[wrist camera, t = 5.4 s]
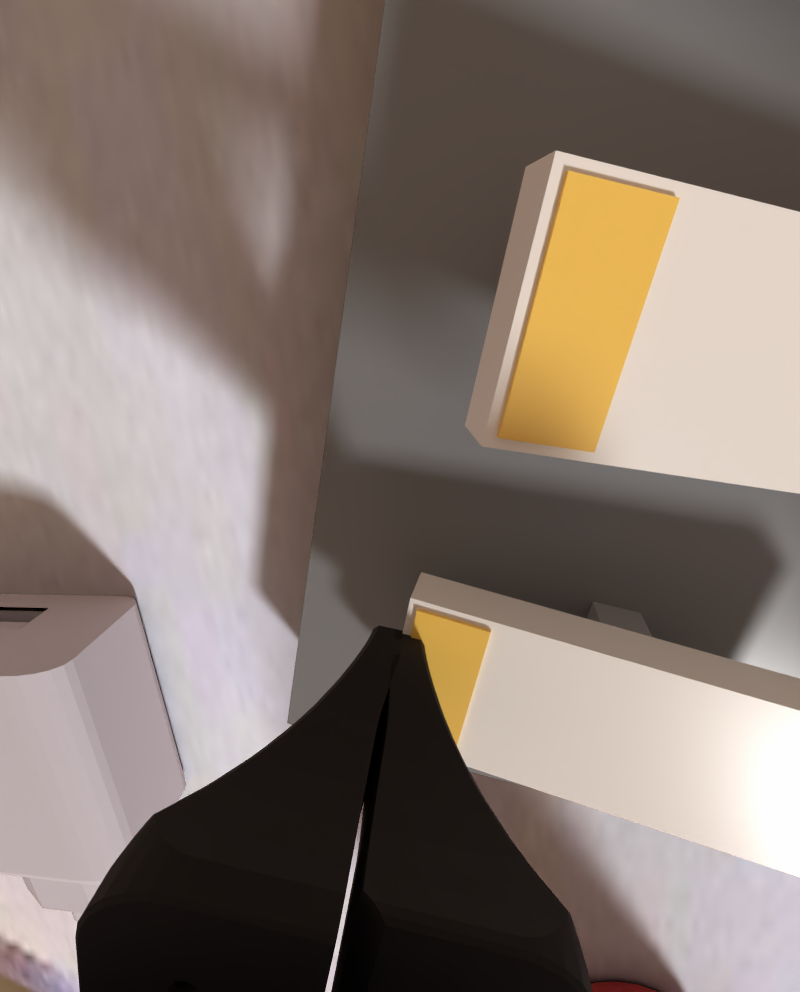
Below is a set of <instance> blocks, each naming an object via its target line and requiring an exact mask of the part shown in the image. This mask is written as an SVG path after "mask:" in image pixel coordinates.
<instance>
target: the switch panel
mask: <svg viewBox="0 0 800 992" xmlns="http://www.w3.org/2000/svg"><path fill="white" fill-rule="evenodd" d="M554 151H560V152H564V153H568V154H572V155H576V156H580V157H584V158H588V159H592V160H596V161H600V162H604V163H608V164H612V165H616V166H620V167H624V168H628V169H632V170H636V171H640V172H644V173H647V174H651V175H655V176H659V177H663V178H667V179H671V180H675V181H679V182H683V183H687V184H691V185H695V186H699V187H703V188H707V189H711V190H715V191H719V192H723V193H727V194H731V195H735V196H739V197H743V198H747V199H751V200H754V201H758V202H762V203H766V204H770V205H774V206H778V207H782V208H786V209H790V210H794V211H798V212H800V0H385V4H384V11H383V19H382V26H381V33H380V41H379V48H378V56H377V63H376V70H375V78H374V85H373V93H372V100H371V107H370V115H369V122H368V130H367V137H366V144H365V152H364V159H363V167H362V174H361V181H360V189H359V196H358V204H357V211H356V218H355V226H354V233H353V241H352V248H351V256H350V263H349V270H348V278H347V285H346V293H345V300H344V307H343V315H342V322H341V330H340V337H339V344H338V352H337V359H336V367H335V374H334V381H333V389H332V396H331V404H330V411H329V418H328V426H327V433H326V441H325V448H324V455H323V463H322V470H321V478H320V485H319V492H318V500H317V507H316V515H315V522H314V529H313V537H312V544H311V552H310V559H309V567H308V574H307V581H306V589H305V596H304V604H303V611H302V618H301V626H300V633H299V641H298V648H297V655H296V663H295V670H294V678H293V685H292V692H291V700H290V707H289V715H288V722H287V723H289V724H294V723H295V722H296V721H297V720H299V719H300V718H301V717H302V716H303V715H304V714H305V713H306V712H307V711H308V710H309V709H310V708H311V707H313V706H314V705H315V704H316V703H317V702H318V701H319V699H320V698H321V697H322V696H323V695H324V694H325V693H326V692H327V691H328V690H329V689H330V688H331V687H332V686H333V685H334V684H335V682H336V681H337V680H338V679H339V678H340V677H341V675H342V674H343V673H344V672H345V671H346V669H347V668H348V667H349V666H350V664H351V663H352V662H353V661H354V659H355V658H356V657H357V655H358V654H359V652H360V651H361V650H362V648H363V647H364V645H365V644H366V642H367V640H368V639H369V637H370V635H371V633H372V631H373V628H375V627H377V626H379V625H380V626H384V627H389V628H393V629H398V630H402V631H403V629H404V624H405V620H406V615H407V611H408V606H409V602H410V598H411V595H412V593H413V590H414V588H415V586H416V583H417V581H418V578H419V576H420V574H421V572H423V573H426V574H430V575H433V576H437V577H441V578H444V579H448V580H451V581H455V582H458V583H462V584H465V585H469V586H472V587H476V588H480V589H483V590H487V591H490V592H494V593H497V594H501V595H504V596H508V597H512V598H515V599H519V600H522V601H526V602H529V603H533V604H536V605H540V606H544V607H547V608H551V609H554V610H558V611H561V612H565V613H568V614H572V615H576V616H579V617H583V618H586V619H590V620H593V621H597V622H600V623H604V624H607V625H611V626H615V627H618V628H622V629H625V630H629V631H632V632H636V633H639V634H643V635H647V636H650V637H654V638H657V639H661V640H664V641H668V642H671V643H675V644H679V645H682V646H686V647H689V648H693V649H696V650H700V651H703V652H707V653H711V654H714V655H718V656H721V657H725V658H728V659H732V660H735V661H739V662H743V663H746V664H750V665H753V666H757V667H760V668H764V669H767V670H771V671H774V672H778V673H782V674H785V675H789V676H792V677H796V678H799V679H800V494H798V493H791V492H784V491H778V490H771V489H764V488H757V487H751V486H744V485H737V484H730V483H724V482H717V481H710V480H704V479H697V478H690V477H683V476H677V475H670V474H663V473H656V472H650V471H643V470H636V469H630V468H623V467H616V466H609V465H603V464H596V463H589V462H582V461H576V460H569V459H562V458H555V457H549V456H542V455H535V454H529V453H522V452H515V451H508V450H502V449H495V448H488V447H482V446H481V445H480V444H479V443H478V441H477V440H476V439H475V438H474V436H473V435H472V434H471V433H470V431H469V430H468V429H467V428H466V426H465V423H466V419H467V415H468V410H469V406H470V402H471V397H472V393H473V389H474V385H475V380H476V376H477V372H478V368H479V363H480V359H481V355H482V351H483V346H484V342H485V338H486V334H487V329H488V325H489V321H490V317H491V312H492V308H493V304H494V300H495V295H496V291H497V287H498V283H499V278H500V274H501V270H502V265H503V261H504V257H505V253H506V248H507V244H508V240H509V236H510V231H511V227H512V223H513V219H514V214H515V210H516V206H517V202H518V197H519V193H520V189H521V185H522V180H523V176H524V172H525V168H526V166H528V165H530V164H532V163H534V162H536V161H537V160H539V159H541V158H543V157H545V156H547V155H548V154H550V153H552V152H554ZM467 768H468V770H469V772H472V773H476V774H480V775H484V776H487V777H491V778H495V779H499V780H502V781H506V782H510V783H514V784H517V785H521V784H518V783H515V782H512V781H509V780H506V779H503V778H500V777H497V776H494V775H491V774H488V773H485V772H482V771H479V770H476V769H473V768H470V767H467ZM521 786H524V785H521ZM525 787H527V786H525ZM529 788H530V787H529ZM532 789H533V788H532Z"/></svg>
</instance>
